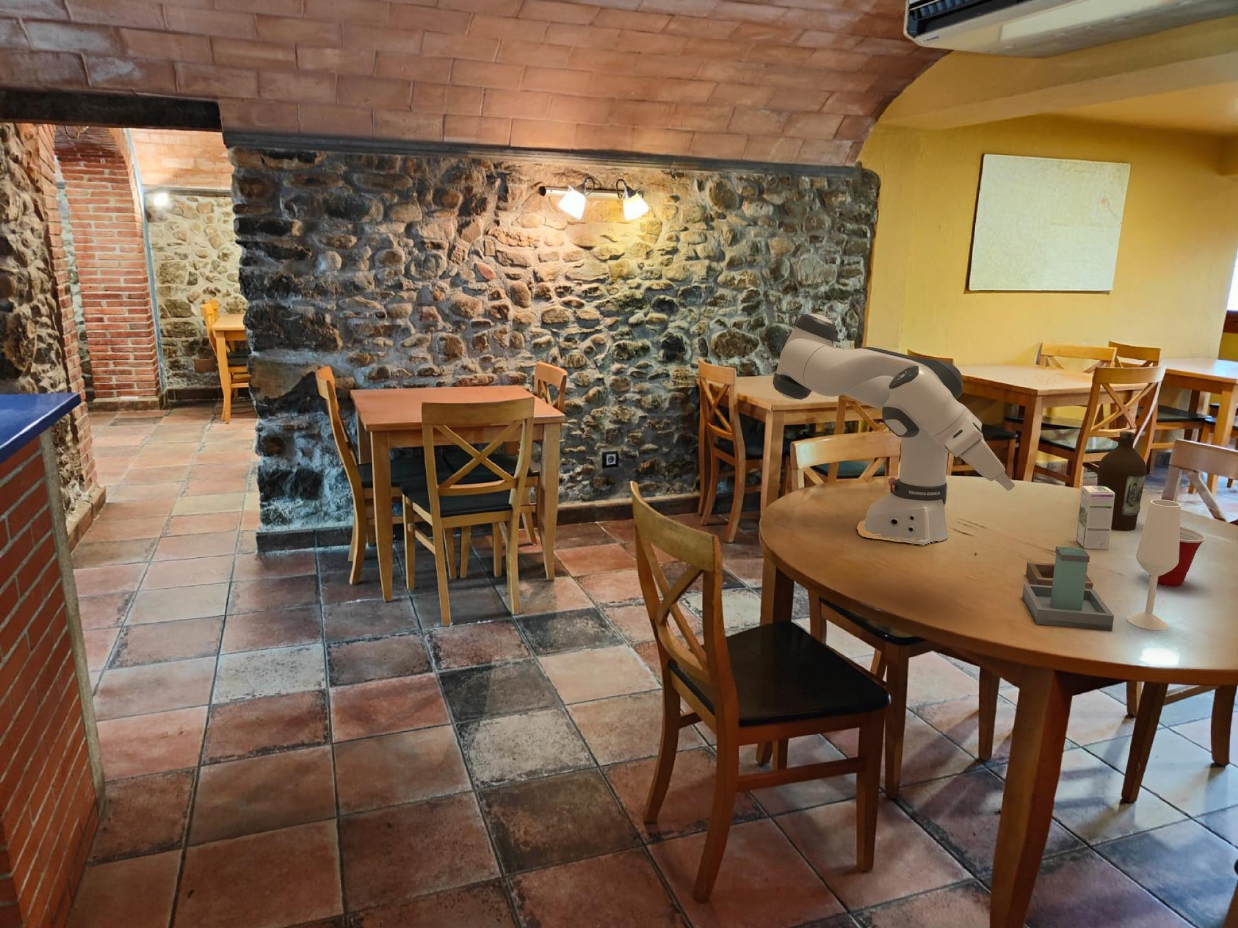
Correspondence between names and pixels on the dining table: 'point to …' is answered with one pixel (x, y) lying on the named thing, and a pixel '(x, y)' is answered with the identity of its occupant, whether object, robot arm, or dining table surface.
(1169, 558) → the champagne flute
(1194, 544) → the plastic cup
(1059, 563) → the pin
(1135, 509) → the olive oil
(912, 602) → the dining table surface
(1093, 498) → the syrup box
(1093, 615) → the grey tray
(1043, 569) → the walnut collar
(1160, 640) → the dining table surface
